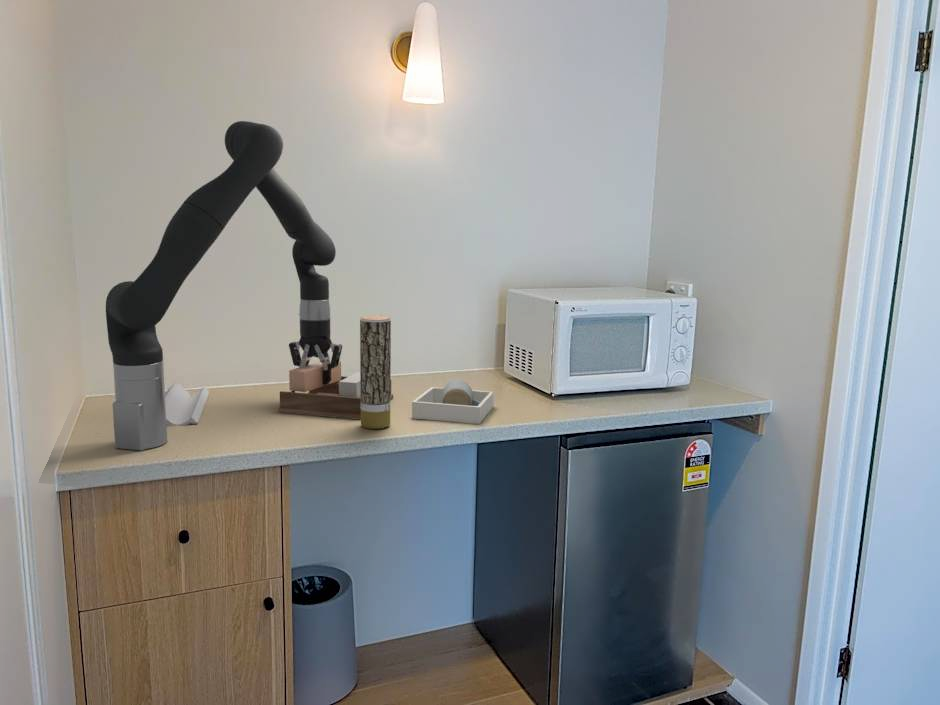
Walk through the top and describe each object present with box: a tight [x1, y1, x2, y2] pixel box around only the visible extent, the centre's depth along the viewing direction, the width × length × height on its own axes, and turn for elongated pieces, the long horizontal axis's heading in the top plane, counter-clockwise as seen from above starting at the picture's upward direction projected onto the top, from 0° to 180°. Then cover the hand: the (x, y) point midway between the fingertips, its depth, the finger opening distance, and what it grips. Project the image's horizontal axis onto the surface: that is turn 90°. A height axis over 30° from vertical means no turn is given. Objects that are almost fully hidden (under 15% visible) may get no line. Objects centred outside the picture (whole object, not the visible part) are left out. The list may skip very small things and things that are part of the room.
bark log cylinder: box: [359, 315, 392, 430], centre depth 164 cm, size 7×7×25 cm
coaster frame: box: [411, 386, 495, 425], centre depth 179 cm, size 17×17×4 cm
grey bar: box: [339, 370, 360, 398], centre depth 182 cm, size 16×4×5 cm, turn 167°
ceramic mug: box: [442, 379, 480, 406], centre depth 178 cm, size 11×8×8 cm
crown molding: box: [165, 382, 210, 427], centre depth 177 cm, size 31×12×4 cm, turn 15°
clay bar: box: [288, 359, 342, 393], centre depth 184 cm, size 16×4×5 cm, turn 157°
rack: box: [277, 375, 394, 420], centre depth 183 cm, size 22×22×5 cm
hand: (316, 382), depth 184 cm, fingers closed on clay bar, 5 cm apart
